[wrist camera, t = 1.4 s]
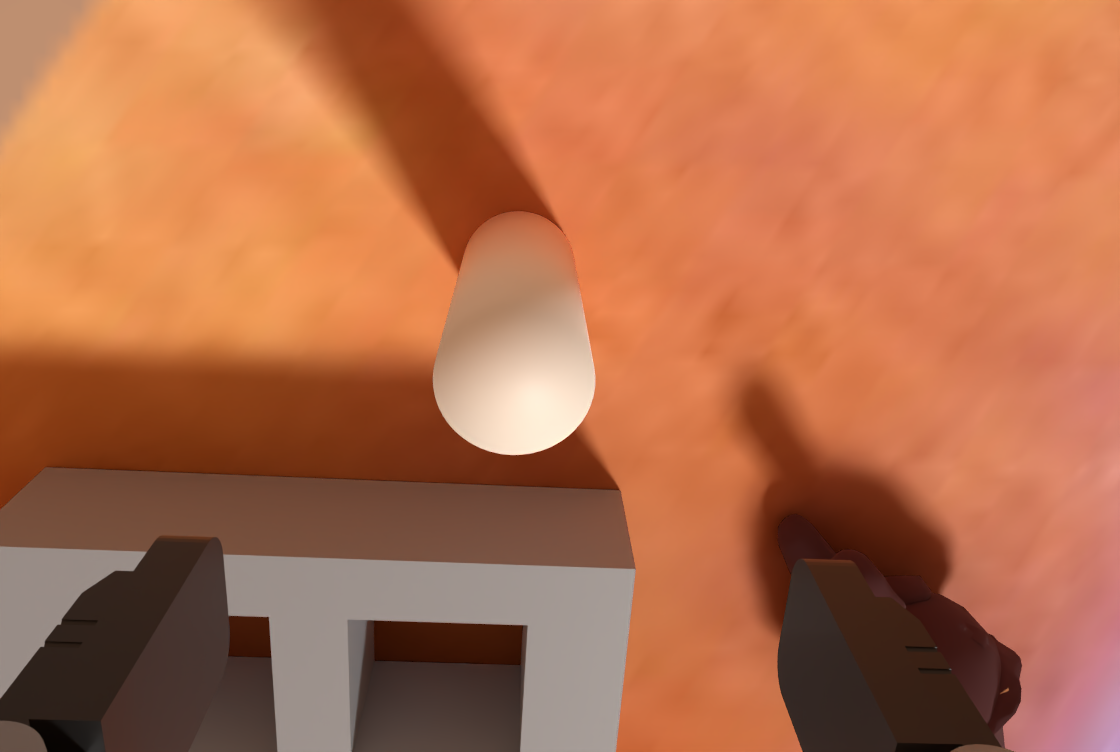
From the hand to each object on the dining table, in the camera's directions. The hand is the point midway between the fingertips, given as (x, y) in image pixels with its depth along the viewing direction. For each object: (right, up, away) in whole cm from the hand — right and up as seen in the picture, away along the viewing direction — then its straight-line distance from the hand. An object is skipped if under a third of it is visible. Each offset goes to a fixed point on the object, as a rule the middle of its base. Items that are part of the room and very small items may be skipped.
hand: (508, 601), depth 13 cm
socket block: (-7, -5, +21) cm, 23 cm away
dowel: (-1, +7, +17) cm, 18 cm away
